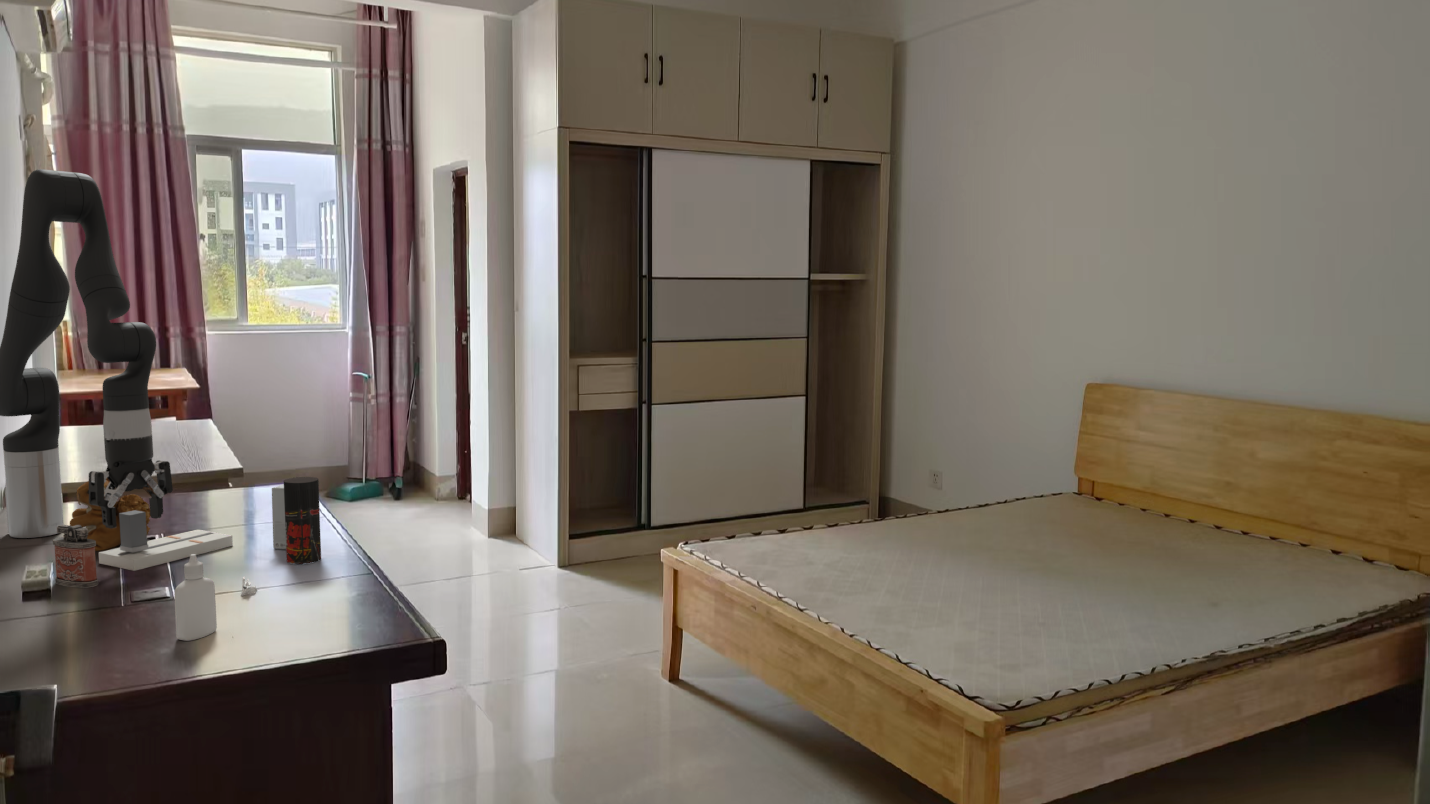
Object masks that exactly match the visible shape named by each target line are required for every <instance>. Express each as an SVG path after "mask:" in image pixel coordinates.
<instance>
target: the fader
mask: <svg viewBox="0 0 1430 804" xmlns="http://www.w3.org/2000/svg"><path fill="white" fill-rule="evenodd" d="M119 519H120V537H121V545H119V548H120V550H122V551H127V552H132V553H133V552H138V551H142V550H146V549H149V547H148V544H147V541H148V535H147V529H146V512H142V511H137V510H134V511H129V512H124V513H119Z"/></svg>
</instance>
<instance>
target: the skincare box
mask: <svg viewBox="0 0 1430 804" xmlns="http://www.w3.org/2000/svg"><path fill="white" fill-rule="evenodd" d="M271 507H272V511H271V512H272V513H271V514H272V545H273V546H272V547H273V549H275V550H276V549H277V550H286V530H285V504H284V483H282V484H279V485H277V486H274V487H272V488H271Z"/></svg>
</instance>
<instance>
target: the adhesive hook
mask: <svg viewBox="0 0 1430 804" xmlns="http://www.w3.org/2000/svg"><path fill="white" fill-rule="evenodd" d="M245 579H246V576H243V577H242V583H241V585H242V587H241V588H242V589H241V593H240V597H242V596H243V597H244V596H247V595H253V594H256V592H258V589H257V587H256V585H252V586H251V583H252V582H251V581H250V578H247V579H246V580H245Z"/></svg>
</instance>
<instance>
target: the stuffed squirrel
mask: <svg viewBox="0 0 1430 804" xmlns="http://www.w3.org/2000/svg"><path fill="white" fill-rule="evenodd" d="M109 482H110V481H109V480H108V478H106V482H105V483H104V491H105V489H106V487H107V486H108V484H109ZM75 493H76V500H77V504H78V505H79V506H81V505H83V506H87V507H86V508H85V507H84V508H81V507H79V508H77V509H75V510H74V511H73V512H72V513H71V517H72V518H71V520H70V521H69V525H70V526H75V525H81V526H82V528H87V529H88V537H87V539H91V540H95V541H96V546H95V552H103V551H107V550H111V549H115V548H118V547H120V546H121V537H120V519H119V513H124V512H129V511H134V510H137V511H142V512H146V529H147V536H148V535H149V532H150V530H151V528H150V527H149V526H148V524H149V523H150V522H151V519H150V518H151V516H150V503H148V502H147V501H145V500H144V498H143V497H141V496H140V495H138V494H134V493H131V494H126V495H125V494H123V495H122V496H121V497H119V498H118V500H117V501H116V503H115V505H114V506H113V507H115V508H116V524H117V526H116V528H112V529H111V528H106V526H105V525H103V523H102V509H101V507H100V506H96V505H90V504H89V480H87V481H86V482H84V483H83V484H82V485H79V487H78V488H77V489H76V491H75Z"/></svg>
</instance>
